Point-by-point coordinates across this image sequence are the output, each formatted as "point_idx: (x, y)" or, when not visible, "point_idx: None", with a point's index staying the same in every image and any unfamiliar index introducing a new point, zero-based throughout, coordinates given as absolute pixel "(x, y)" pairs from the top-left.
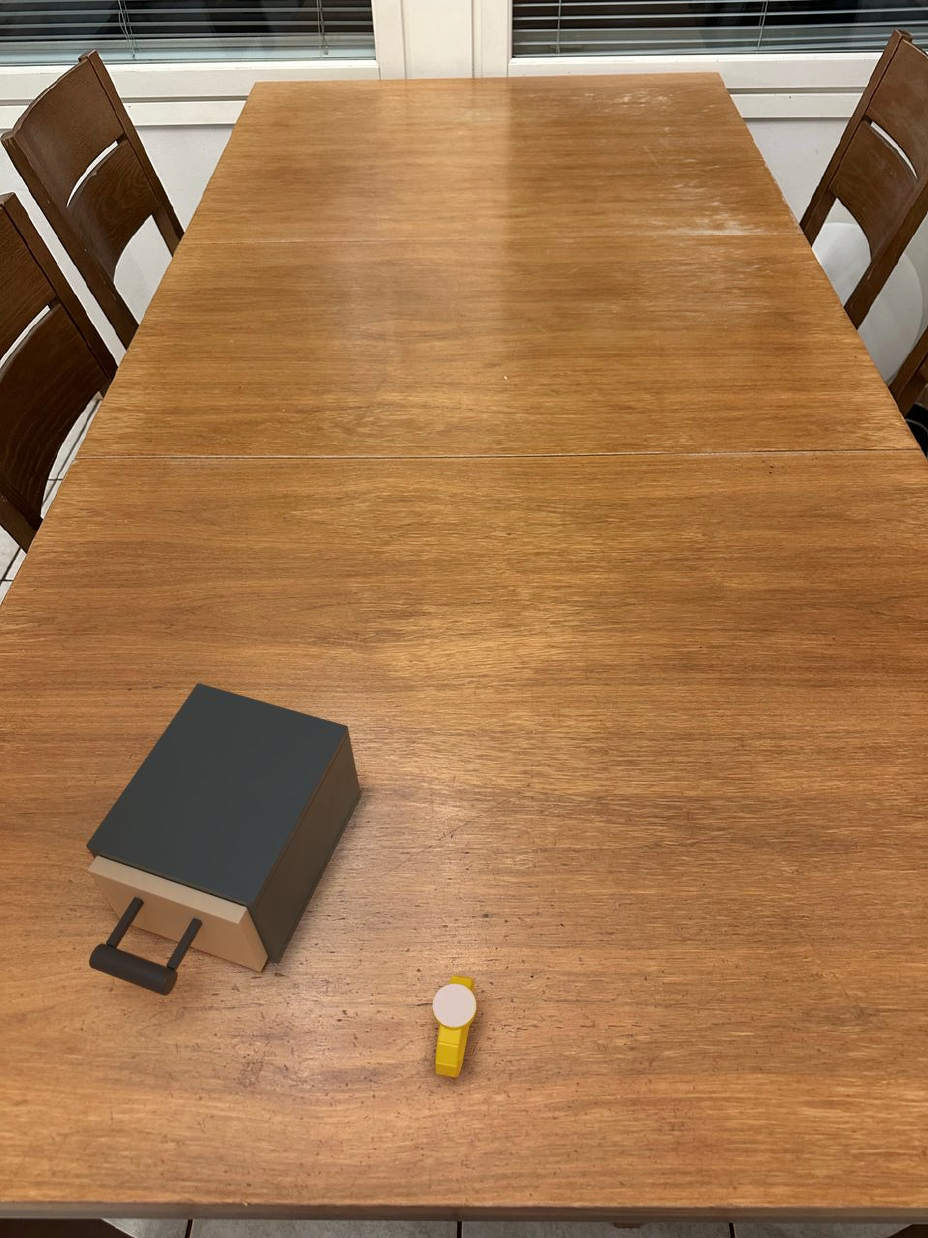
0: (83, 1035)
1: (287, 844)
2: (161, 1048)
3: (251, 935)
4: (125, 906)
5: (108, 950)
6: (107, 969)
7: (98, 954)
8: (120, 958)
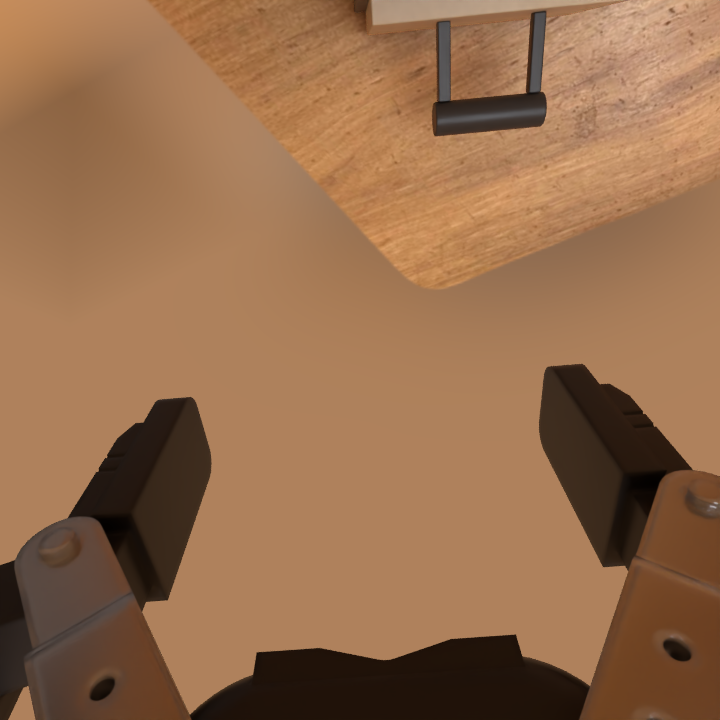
0: (400, 167)
1: None
2: (484, 143)
3: None
4: (400, 28)
5: (454, 111)
6: (462, 131)
7: (445, 122)
8: (475, 114)
